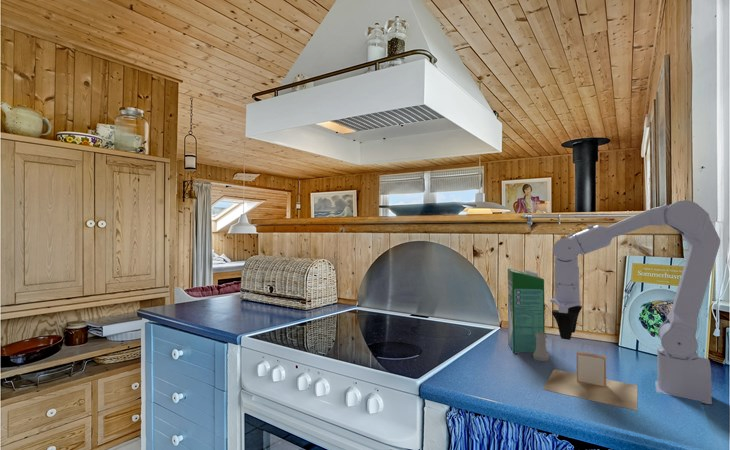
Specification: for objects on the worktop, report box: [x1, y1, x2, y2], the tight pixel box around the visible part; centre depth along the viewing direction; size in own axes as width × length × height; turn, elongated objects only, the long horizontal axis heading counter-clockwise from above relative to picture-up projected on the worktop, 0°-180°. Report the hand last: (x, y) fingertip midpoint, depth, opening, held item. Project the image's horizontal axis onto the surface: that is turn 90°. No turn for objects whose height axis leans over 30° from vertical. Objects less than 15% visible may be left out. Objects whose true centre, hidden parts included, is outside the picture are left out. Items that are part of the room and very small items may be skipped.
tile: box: [576, 351, 607, 388], centre depth 91 cm, size 6×2×7 cm, turn 54°
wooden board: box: [542, 368, 638, 411], centre depth 89 cm, size 18×15×1 cm
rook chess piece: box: [532, 331, 550, 362], centre depth 109 cm, size 4×4×8 cm
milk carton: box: [507, 267, 546, 354], centre depth 119 cm, size 9×9×25 cm
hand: (568, 335), depth 100 cm, fingers open, 7 cm apart
